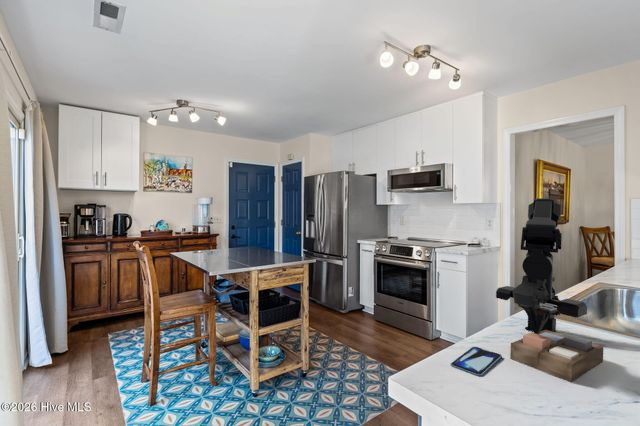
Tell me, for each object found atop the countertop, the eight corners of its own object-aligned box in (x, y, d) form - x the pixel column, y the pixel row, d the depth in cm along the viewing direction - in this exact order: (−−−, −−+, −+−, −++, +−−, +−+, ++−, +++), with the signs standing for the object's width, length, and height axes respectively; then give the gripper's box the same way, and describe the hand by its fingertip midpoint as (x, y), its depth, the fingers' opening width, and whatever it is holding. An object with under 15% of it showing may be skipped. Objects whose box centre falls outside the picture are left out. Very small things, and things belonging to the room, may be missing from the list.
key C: (537, 346, 87) (537, 335, 87) (545, 342, 90) (545, 332, 90) (556, 352, 84) (556, 341, 84) (563, 348, 86) (563, 337, 86)
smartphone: (448, 364, 78) (473, 345, 88) (448, 368, 78) (473, 349, 88) (480, 376, 73) (503, 355, 83) (480, 380, 73) (503, 358, 83)
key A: (548, 362, 78) (549, 349, 78) (557, 358, 80) (557, 346, 80) (570, 370, 74) (571, 357, 74) (578, 365, 77) (578, 353, 77)
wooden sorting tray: (510, 358, 82) (510, 343, 82) (545, 343, 93) (545, 329, 93) (571, 382, 71) (571, 364, 71) (603, 362, 82) (603, 346, 82)
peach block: (522, 347, 83) (523, 335, 83) (531, 343, 85) (531, 332, 85) (541, 353, 79) (542, 341, 79) (549, 349, 82) (550, 338, 82)
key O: (563, 349, 82) (564, 337, 82) (570, 345, 85) (571, 334, 85) (584, 356, 79) (585, 343, 79) (591, 352, 81) (592, 340, 81)
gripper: (485, 268, 86) (483, 327, 86) (568, 283, 70) (566, 355, 70) (507, 265, 92) (505, 320, 92) (589, 278, 76) (586, 344, 76)
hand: (536, 333), depth 82 cm, fingers closed
